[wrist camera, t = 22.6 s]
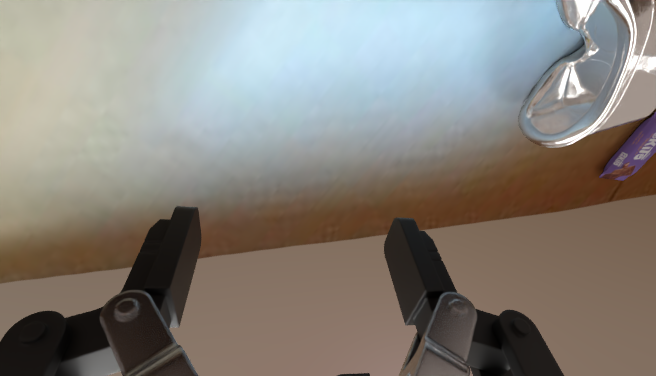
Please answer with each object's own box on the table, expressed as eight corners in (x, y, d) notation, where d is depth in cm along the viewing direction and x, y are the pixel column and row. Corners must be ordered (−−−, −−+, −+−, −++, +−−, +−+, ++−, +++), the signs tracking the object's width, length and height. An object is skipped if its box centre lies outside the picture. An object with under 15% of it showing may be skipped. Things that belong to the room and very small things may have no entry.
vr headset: (533, -39, 32) (662, -22, 21) (649, -66, 32) (844, -63, 21) (504, 121, 44) (578, 187, 33) (590, 103, 43) (695, 164, 32)
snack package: (663, 113, 43) (691, 118, 44) (651, 107, 45) (678, 111, 46) (603, 181, 50) (628, 184, 51) (593, 174, 52) (618, 176, 53)
